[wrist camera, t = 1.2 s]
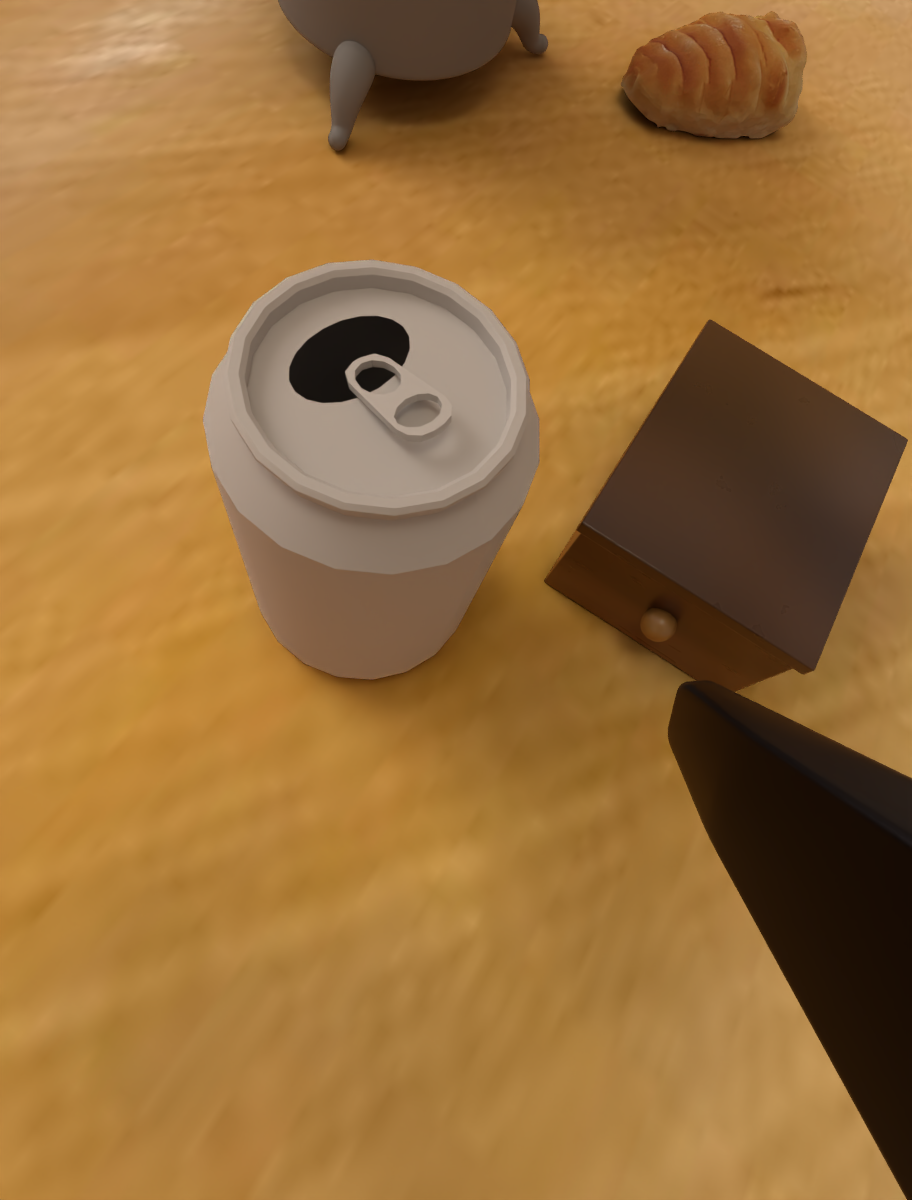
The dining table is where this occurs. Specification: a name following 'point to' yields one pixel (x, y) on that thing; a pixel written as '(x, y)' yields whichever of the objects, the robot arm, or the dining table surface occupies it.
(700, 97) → the pastry
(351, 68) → the grey footed vessel
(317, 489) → the can
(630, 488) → the walnut box
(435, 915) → the dining table surface
